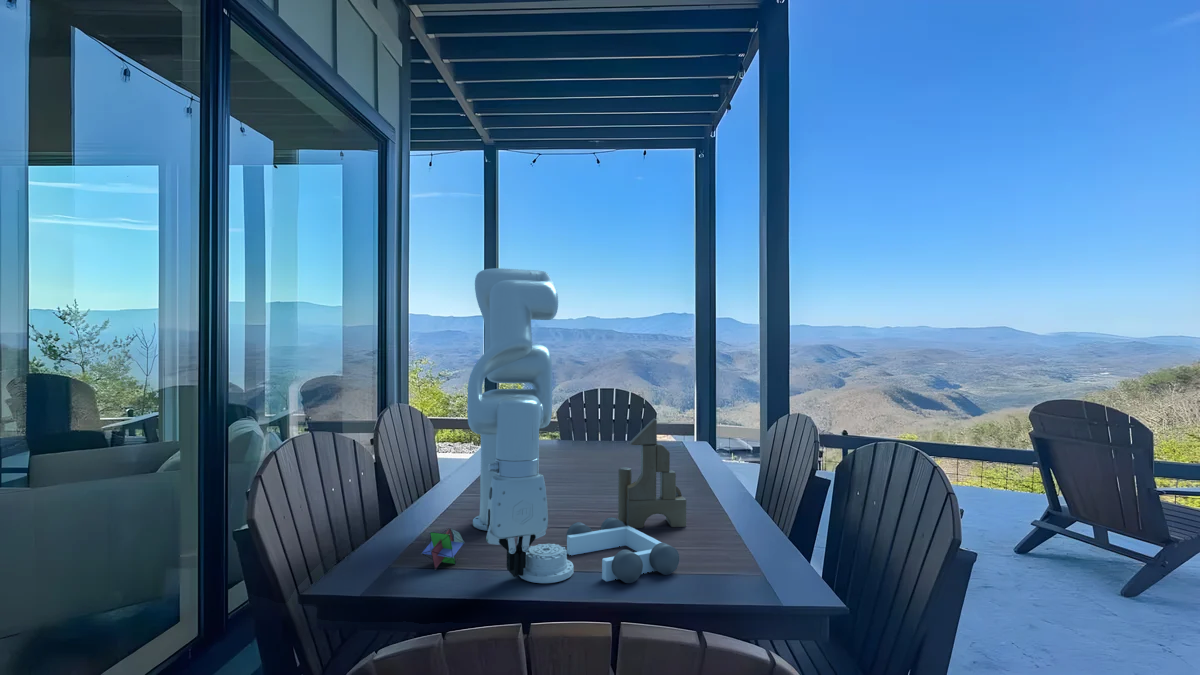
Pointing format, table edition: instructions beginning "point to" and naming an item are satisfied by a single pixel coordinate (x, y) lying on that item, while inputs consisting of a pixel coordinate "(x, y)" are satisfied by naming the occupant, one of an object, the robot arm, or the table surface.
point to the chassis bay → (624, 562)
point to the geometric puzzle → (444, 547)
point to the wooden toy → (650, 485)
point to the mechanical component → (547, 564)
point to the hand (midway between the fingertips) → (516, 573)
